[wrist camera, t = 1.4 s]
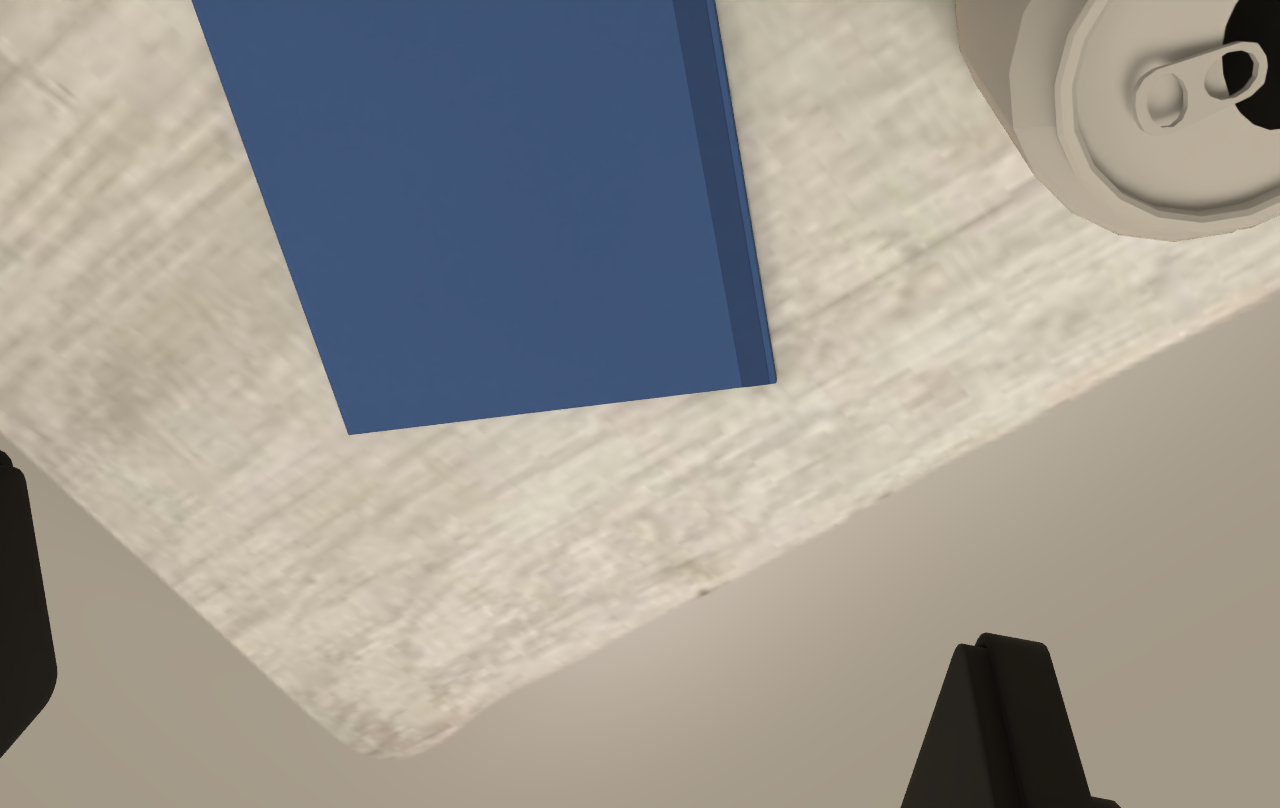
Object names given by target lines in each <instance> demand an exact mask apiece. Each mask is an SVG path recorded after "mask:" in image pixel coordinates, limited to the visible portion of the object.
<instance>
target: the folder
mask: <svg viewBox="0 0 1280 808" xmlns="http://www.w3.org/2000/svg"><path fill="white" fill-rule="evenodd" d="M192 3H193V6H194V8H195V11H196V14H197V17H198V19H199V22H200V25H201V28H202V30H203V33H204V36H205V39H206V42H207V44H208V47H209V50H210V53H211V55H212V58H213V61H214V64H215V66H216V69H217V72H218V75H219V77H220V80H221V83H222V86H223V89H224V91H225V94H226V97H227V100H228V102H229V105H230V108H231V111H232V113H233V116H234V119H235V122H236V125H237V127H238V130H239V133H240V136H241V138H242V141H243V144H244V147H245V149H246V152H247V155H248V158H249V161H250V163H251V166H252V169H253V172H254V174H255V177H256V180H257V183H258V185H259V188H260V191H261V194H262V196H263V199H264V202H265V205H266V208H267V210H268V213H269V216H270V219H271V221H272V224H273V227H274V230H275V232H276V235H277V238H278V241H279V244H280V246H281V249H282V252H283V255H284V257H285V260H286V263H287V266H288V268H289V271H290V274H291V277H292V280H293V282H294V285H295V288H296V291H297V293H298V296H299V299H300V302H301V304H302V307H303V310H304V313H305V315H306V318H307V321H308V324H309V327H310V329H311V332H312V335H313V338H314V340H315V343H316V346H317V349H318V351H319V354H320V357H321V360H322V363H323V365H324V368H325V371H326V374H327V376H328V379H329V382H330V385H331V387H332V390H333V393H334V396H335V399H336V401H337V404H338V407H339V410H340V412H341V415H342V418H343V421H344V423H345V426H346V429H347V432H348V434H349V435H353V434H362V433H370V432H378V431H386V430H395V429H403V428H411V427H419V426H428V425H436V424H444V423H452V422H461V421H469V420H477V419H485V418H493V417H502V416H510V415H518V414H526V413H535V412H543V411H551V410H559V409H568V408H576V407H584V406H592V405H601V404H609V403H617V402H625V401H634V400H642V399H650V398H658V397H667V396H675V395H683V394H691V393H700V392H708V391H716V390H724V389H732V388H741V387H751V386H759V385H767V384H774V383H776V382H777V377H776V371H775V364H774V358H773V352H772V346H771V340H770V334H769V328H768V322H767V316H766V310H765V303H764V297H763V291H762V285H761V279H760V273H759V267H758V261H757V255H756V249H755V242H754V236H753V230H752V224H751V218H750V212H749V206H748V200H747V194H746V188H745V182H744V175H743V169H742V163H741V157H740V151H739V145H738V139H737V133H736V127H735V121H734V114H733V108H732V102H731V96H730V90H729V84H728V78H727V72H726V66H725V60H724V53H723V47H722V41H721V35H720V29H719V23H718V17H717V11H716V5H715V0H192Z"/></svg>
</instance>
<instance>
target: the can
mask: <svg viewBox="0 0 1280 808" xmlns="http://www.w3.org/2000/svg"><path fill="white" fill-rule="evenodd" d="M955 7H956V17H957V28H958V38H959V48H960V50H961V53H962V55H963V57H964V59H965V61H966V64H967V66H968V68H969V70H970V72H971V74H972V77H973V79H974V81H975V83H976V85H977V87H978V88H979V90H980V91H981V93H982V95H983V96H984V98H985V99H986V101H987V102H988V104H989V105H990V107H991V109H992V110H993V112H994V113H995V115H996V116H997V118H998V119H999V121H1000V123H1001V124H1002V126H1003V127H1004V129H1005V130H1006V132H1007V133H1008V135H1009V137H1010V138H1011V140H1012V141H1013V143H1014V144H1015V146H1016V147H1017V149H1018V151H1019V152H1020V154H1021V155H1022V157H1023V158H1024V160H1025V161H1026V163H1027V165H1028V166H1029V168H1030V169H1031V171H1032V172H1033V174H1034V176H1035V177H1036V178H1037V179H1038V180H1039V181H1040V182H1041V183H1042V184H1043V185H1044V186H1045V187H1046V188H1047V189H1048V190H1049V191H1050V192H1051V193H1052V194H1053V195H1054V196H1055V197H1056V198H1057V199H1058V200H1059V201H1060V202H1061V203H1062V204H1063V205H1064V206H1065V207H1066V208H1067V209H1068V210H1069V211H1070V212H1071V213H1073V214H1075V215H1077V216H1080V217H1082V218H1084V219H1086V220H1088V221H1090V222H1092V223H1094V224H1096V225H1099V226H1101V227H1103V228H1105V229H1107V230H1109V231H1111V232H1113V233H1116V234H1118V235H1123V236H1131V237H1139V238H1147V239H1155V240H1163V241H1171V242H1176V241H1182V240H1188V239H1195V238H1201V237H1207V236H1214V235H1220V234H1226V233H1232V232H1235V231H1237V230H1240V229H1247V228H1252V227H1254V226H1256V225H1259V224H1261V223H1263V222H1265V221H1268V220H1270V219H1272V218H1275V217H1277V216H1279V215H1280V0H957V1H956V5H955Z"/></svg>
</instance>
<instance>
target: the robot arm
mask: <svg viewBox="0 0 1280 808" xmlns="http://www.w3.org/2000/svg"><path fill="white" fill-rule="evenodd" d="M56 679H57V665H56V658H55V652H54V646H53V640H52V634H51V629H50V622H49V616H48V611H47V605H46V598H45V592H44V586H43V580H42V574H41V569H40V562H39V557H38V550H37V545H36V539H35V533H34V526H33V520H32V514H31V508H30V502H29V496H28V490H27V484H26V480H25V477H24V474H23V473H22V472H21V470H20V469H17V468H15V467H13V464H12V461H11V459H10V458H9V457H8V455H7V454H6V453H5V452H3V451H1V450H0V758H1V757H2V756H3V754H4V753H5V752H6V751H7V750H8V749H9V748H10V746H11V745H12V744H13V743H14V742H15V741H16V739H17V738H18V737H19V736H20V735H21V734H22V732H23V731H24V730H25V729H26V728H27V727H28V725H29V724H30V723H31V722H32V721H33V720H34V719H35V717H36V716H37V715H38V714H39V713H40V712H41V710H42V709H43V708H44V707H45V705H46V704H47V703H48V701H49V699H50V697H51V695H52V693H53V690H54V688H55V684H56ZM901 808H1121V807H1120V806H1119V805H1118V804H1117V803H1116V802H1115V801H1112V800H1107V799H1102V798H1097V797H1091V795H1090V791H1089V788H1088V784H1087V781H1086V777H1085V774H1084V770H1083V767H1082V764H1081V760H1080V757H1079V753H1078V750H1077V746H1076V743H1075V740H1074V736H1073V733H1072V729H1071V726H1070V722H1069V719H1068V715H1067V712H1066V709H1065V705H1064V702H1063V698H1062V694H1061V691H1060V688H1059V684H1058V681H1057V677H1056V674H1055V670H1054V667H1053V663H1052V660H1051V657H1050V653H1049V651H1048V649H1047V647H1046V646H1045V645H1044V644H1043V643H1040V642H1034V641H1029V640H1023V639H1018V638H1012V637H1007V636H1002V635H997V634H991V633H983V634H981V635H980V637H979V638H978V640H977V642H976V644H975V646H972V645H966V644H959V645H958V646H957V647H956V649H955V651H954V653H953V656H952V659H951V662H950V665H949V668H948V671H947V674H946V677H945V680H944V682H943V685H942V689H941V691H940V694H939V697H938V700H937V703H936V706H935V709H934V712H933V715H932V718H931V721H930V724H929V726H928V729H927V733H926V735H925V738H924V741H923V744H922V747H921V750H920V753H919V756H918V758H917V761H916V764H915V767H914V770H913V773H912V776H911V779H910V782H909V785H908V788H907V791H906V794H905V797H904V799H903V803H902V806H901Z"/></svg>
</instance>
